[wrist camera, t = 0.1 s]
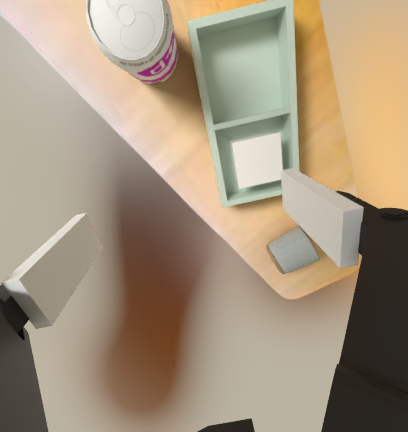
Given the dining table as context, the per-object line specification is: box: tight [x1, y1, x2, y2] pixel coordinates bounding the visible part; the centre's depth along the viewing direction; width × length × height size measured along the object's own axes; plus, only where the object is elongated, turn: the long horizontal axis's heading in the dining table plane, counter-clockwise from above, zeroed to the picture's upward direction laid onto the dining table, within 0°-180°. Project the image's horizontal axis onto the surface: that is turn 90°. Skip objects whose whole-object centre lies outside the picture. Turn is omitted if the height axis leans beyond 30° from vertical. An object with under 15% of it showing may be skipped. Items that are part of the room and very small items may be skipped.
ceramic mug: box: [266, 226, 320, 274], centre depth 47 cm, size 11×8×8 cm
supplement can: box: [86, 0, 178, 84], centre depth 28 cm, size 8×8×15 cm
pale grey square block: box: [229, 132, 283, 189], centre depth 39 cm, size 8×8×5 cm
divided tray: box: [187, 0, 299, 207], centre depth 37 cm, size 27×14×4 cm, turn 12°
